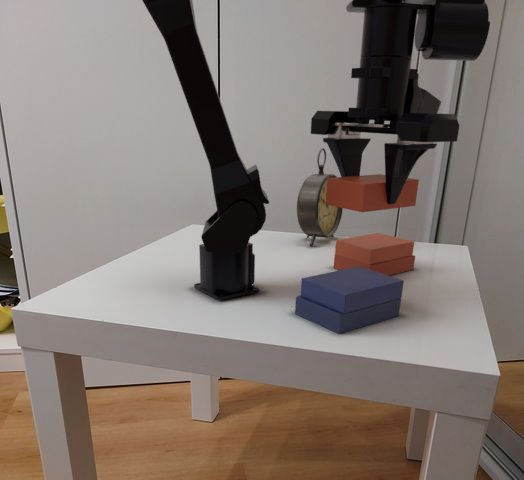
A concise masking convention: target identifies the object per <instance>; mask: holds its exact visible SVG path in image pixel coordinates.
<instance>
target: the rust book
mask: <svg viewBox="0 0 524 480" xmlns="http://www.w3.org/2000/svg"><path fill="white" fill-rule="evenodd" d="M419 182H420V179H417V178H410V177H408V178H407V180H406V182H405V185H404V187H403V189H402V191H401V193H400V195H399V197H398V199H397V201H396V203H395V204H388V203H387V196H386V181H385V174H383V173H379V174H365V175H360V176H349V177H341V176H336V177H335V178H327V193H326V205H331V206H335V207H340V208H343V210H350V211H354V212H358V213H368V212H376V211H384V210H393V209H401V208H402V209H403V208H408V207H415V206H416V204H417V202H416V201H417V196H418V189H419Z"/></svg>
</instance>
